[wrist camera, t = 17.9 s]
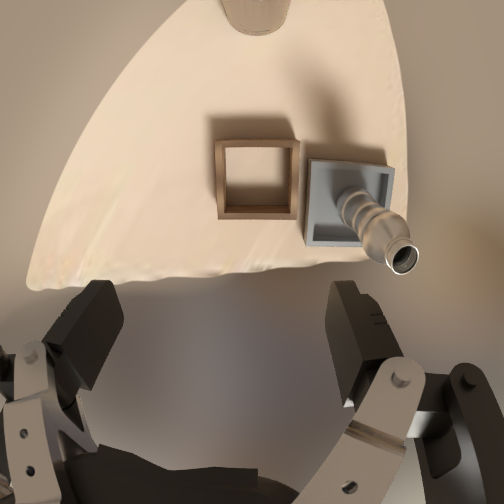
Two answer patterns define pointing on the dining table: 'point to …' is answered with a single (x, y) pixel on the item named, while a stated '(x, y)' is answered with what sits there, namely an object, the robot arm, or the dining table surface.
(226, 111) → the dining table surface
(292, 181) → the walnut collar
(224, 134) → the dining table surface
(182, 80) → the dining table surface
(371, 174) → the grey tray
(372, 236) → the plastic bottle
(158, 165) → the dining table surface
